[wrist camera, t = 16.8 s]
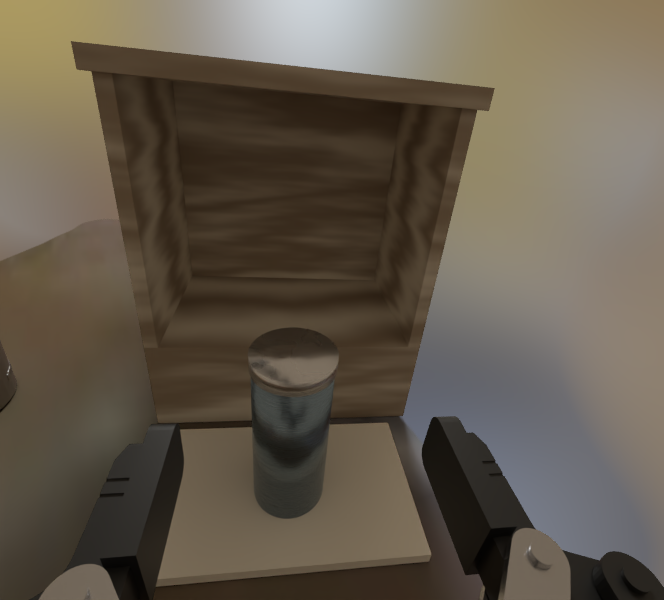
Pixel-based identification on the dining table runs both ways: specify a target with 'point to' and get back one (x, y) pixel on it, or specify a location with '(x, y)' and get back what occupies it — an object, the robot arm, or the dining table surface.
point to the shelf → (278, 216)
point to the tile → (297, 533)
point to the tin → (290, 417)
